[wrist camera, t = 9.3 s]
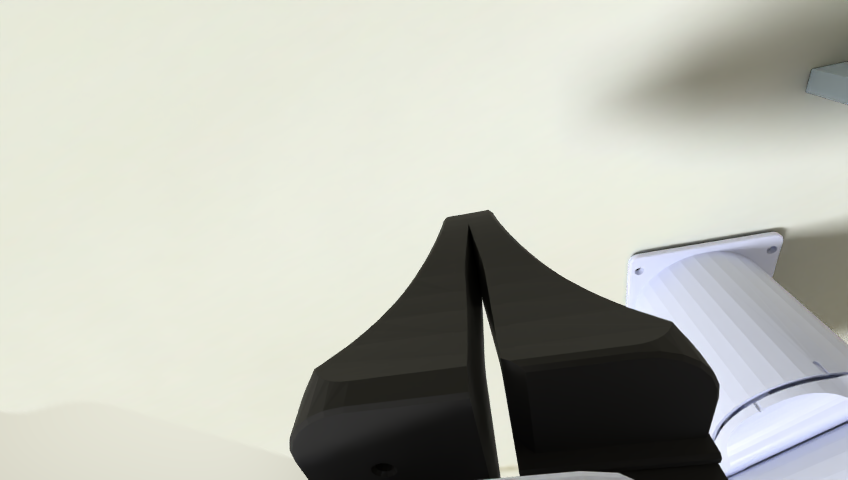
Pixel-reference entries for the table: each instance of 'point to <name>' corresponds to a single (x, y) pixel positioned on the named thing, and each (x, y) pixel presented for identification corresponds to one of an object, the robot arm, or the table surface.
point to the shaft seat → (830, 82)
